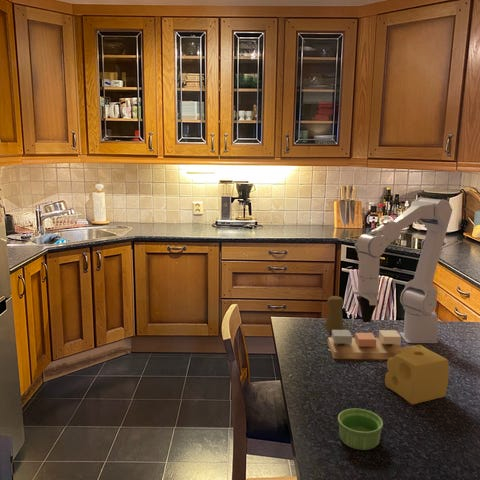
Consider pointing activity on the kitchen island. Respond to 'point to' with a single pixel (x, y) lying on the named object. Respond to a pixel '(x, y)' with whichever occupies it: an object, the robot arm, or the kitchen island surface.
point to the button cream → (389, 337)
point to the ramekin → (360, 428)
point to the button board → (362, 350)
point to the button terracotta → (365, 339)
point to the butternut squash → (335, 314)
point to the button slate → (342, 336)
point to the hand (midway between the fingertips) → (366, 321)
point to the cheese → (417, 374)
